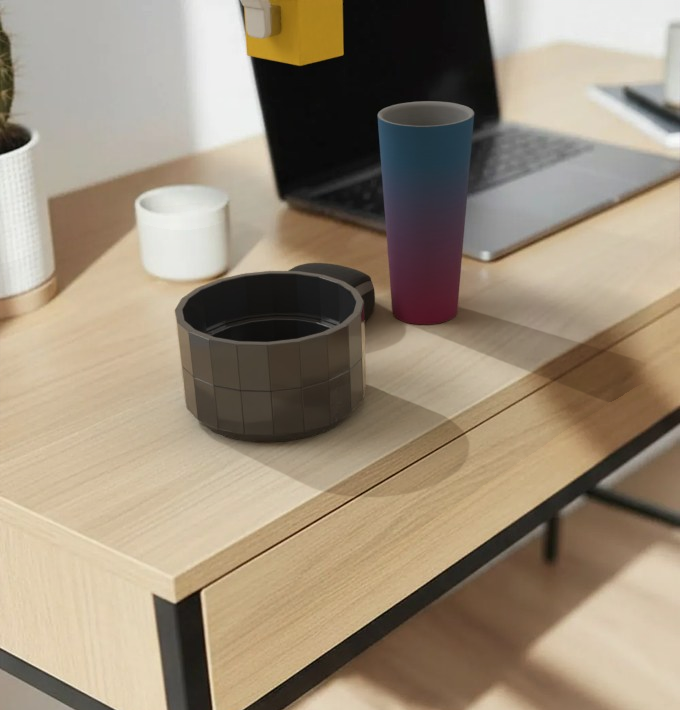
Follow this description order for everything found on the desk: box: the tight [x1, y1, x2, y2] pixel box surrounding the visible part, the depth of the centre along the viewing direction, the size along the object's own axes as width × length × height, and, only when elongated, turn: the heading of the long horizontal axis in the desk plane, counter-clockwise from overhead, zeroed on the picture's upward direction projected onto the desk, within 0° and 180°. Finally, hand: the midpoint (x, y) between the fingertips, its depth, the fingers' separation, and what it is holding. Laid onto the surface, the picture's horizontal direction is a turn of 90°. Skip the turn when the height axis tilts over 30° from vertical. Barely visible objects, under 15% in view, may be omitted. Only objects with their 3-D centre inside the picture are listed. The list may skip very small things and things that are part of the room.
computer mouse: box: [287, 262, 376, 322], centre depth 90 cm, size 7×12×4 cm, turn 149°
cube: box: [243, 0, 345, 67], centre depth 77 cm, size 5×4×4 cm
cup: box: [377, 100, 475, 325], centre depth 89 cm, size 7×7×15 cm
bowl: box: [174, 270, 367, 443], centre depth 79 cm, size 12×12×7 cm
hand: (295, 29), depth 77 cm, fingers closed on cube, 4 cm apart
